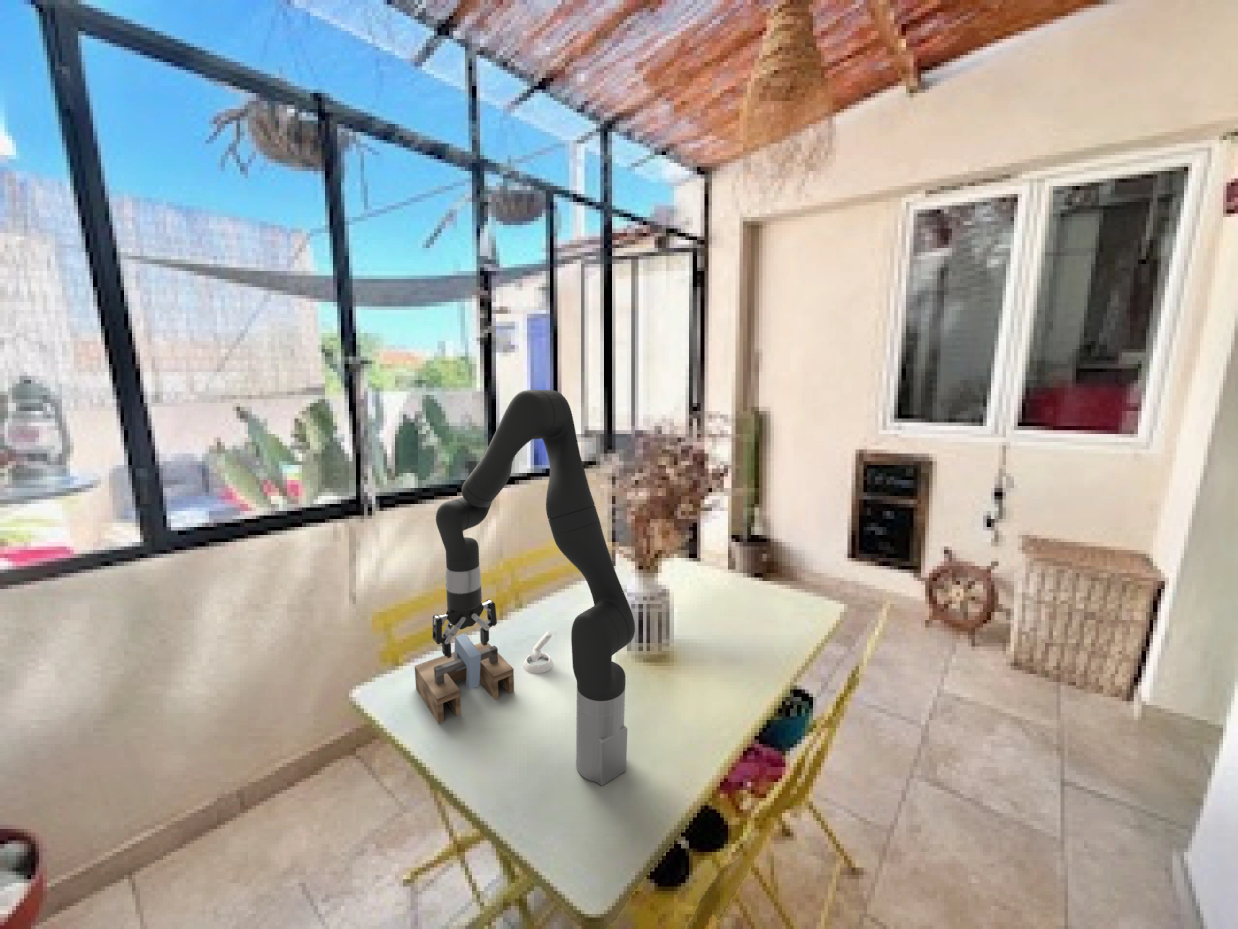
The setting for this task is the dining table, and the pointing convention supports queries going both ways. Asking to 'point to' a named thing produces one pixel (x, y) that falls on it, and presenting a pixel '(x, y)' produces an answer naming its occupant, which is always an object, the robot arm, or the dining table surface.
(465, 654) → the blue arch block
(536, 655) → the mortar and pestle
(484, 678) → the wooden stand with handle
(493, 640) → the dining table surface
